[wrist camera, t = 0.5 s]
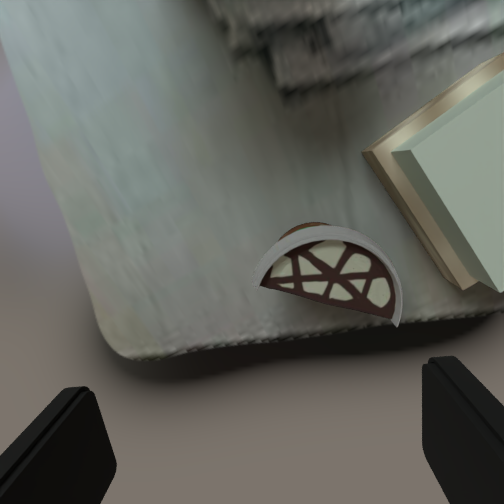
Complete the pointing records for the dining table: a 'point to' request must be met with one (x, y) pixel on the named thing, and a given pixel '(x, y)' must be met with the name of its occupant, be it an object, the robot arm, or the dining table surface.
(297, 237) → the food container
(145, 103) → the dining table surface
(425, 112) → the lower slab
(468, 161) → the upper slab
